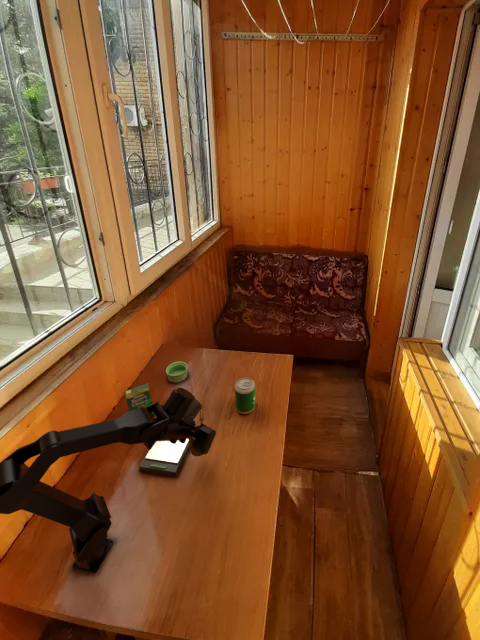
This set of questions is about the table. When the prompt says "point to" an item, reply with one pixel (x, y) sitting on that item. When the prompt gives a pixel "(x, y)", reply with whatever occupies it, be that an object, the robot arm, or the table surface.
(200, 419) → the utensil holder
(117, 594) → the table surface
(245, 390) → the soda can
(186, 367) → the ramekin
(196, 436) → the robot arm
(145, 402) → the coffee box
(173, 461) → the kitchen scale
